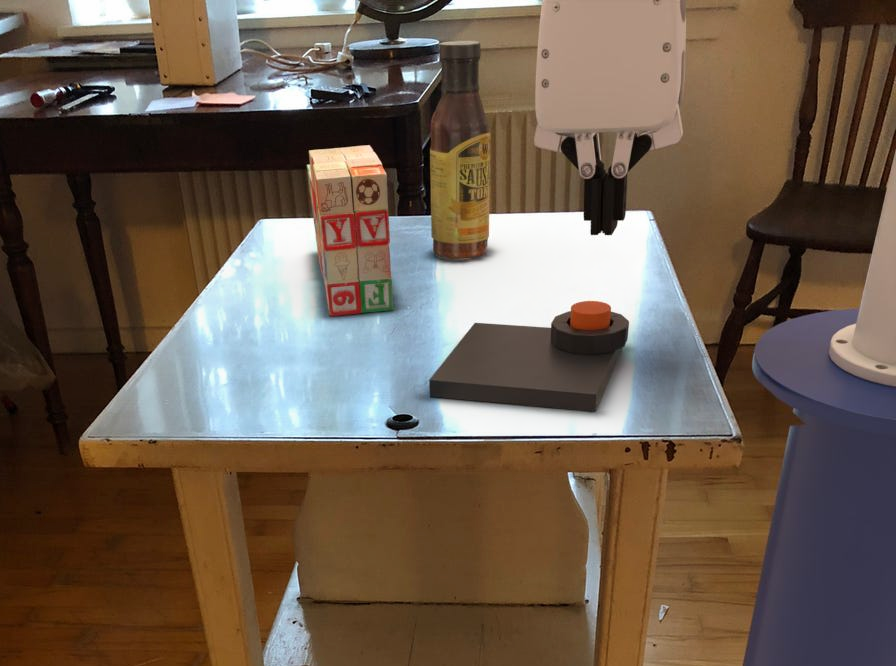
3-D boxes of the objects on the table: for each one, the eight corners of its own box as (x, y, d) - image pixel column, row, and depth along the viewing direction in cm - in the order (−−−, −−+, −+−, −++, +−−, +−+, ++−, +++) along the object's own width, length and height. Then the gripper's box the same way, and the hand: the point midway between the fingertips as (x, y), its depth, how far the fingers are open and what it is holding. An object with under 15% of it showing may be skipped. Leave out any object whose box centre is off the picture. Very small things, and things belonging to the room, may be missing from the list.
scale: (630, 346, 83) (633, 311, 81) (602, 412, 73) (605, 373, 71) (476, 335, 86) (476, 302, 85) (429, 396, 76) (428, 359, 75)
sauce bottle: (467, 265, 103) (464, 47, 91) (420, 257, 106) (411, 45, 94) (501, 249, 107) (503, 38, 95) (455, 242, 110) (451, 37, 98)
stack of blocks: (315, 253, 109) (302, 132, 102) (371, 248, 110) (362, 127, 102) (329, 317, 92) (315, 176, 85) (395, 310, 93) (386, 170, 85)
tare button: (612, 320, 80) (614, 301, 79) (605, 334, 78) (607, 315, 77) (574, 318, 81) (575, 299, 80) (566, 331, 79) (567, 312, 78)
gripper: (735, -74, 65) (708, 217, 76) (516, -55, 69) (520, 218, 80) (727, -69, 59) (699, 245, 70) (489, -48, 64) (498, 244, 75)
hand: (604, 229), depth 75 cm, fingers closed
